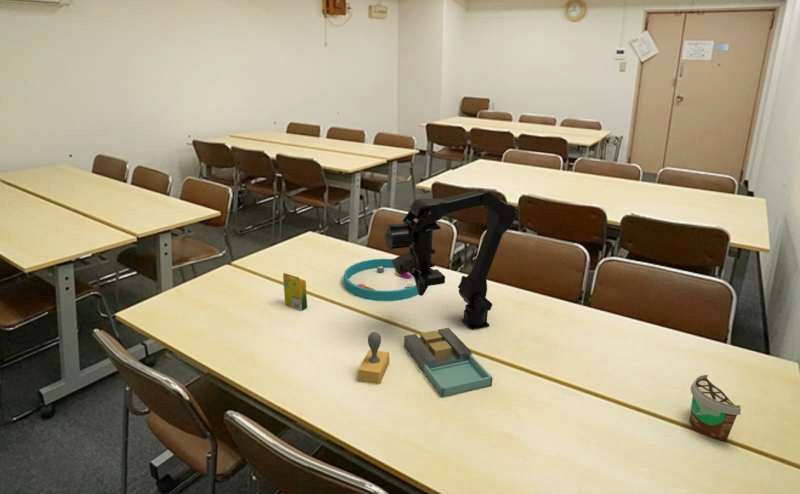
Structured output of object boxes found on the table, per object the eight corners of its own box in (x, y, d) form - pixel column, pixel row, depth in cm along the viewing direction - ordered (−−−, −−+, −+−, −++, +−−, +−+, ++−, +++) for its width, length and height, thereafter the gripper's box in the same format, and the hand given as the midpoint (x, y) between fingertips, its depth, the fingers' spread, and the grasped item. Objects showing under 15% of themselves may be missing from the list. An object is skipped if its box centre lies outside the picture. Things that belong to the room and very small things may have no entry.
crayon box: (307, 307, 172) (306, 275, 168) (301, 311, 169) (299, 278, 165) (291, 302, 175) (288, 269, 171) (284, 305, 173) (282, 272, 169)
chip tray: (470, 363, 143) (471, 355, 142) (491, 385, 134) (492, 377, 133) (423, 373, 138) (424, 365, 137) (442, 397, 129) (442, 389, 128)
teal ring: (443, 284, 192) (444, 269, 190) (385, 311, 172) (385, 294, 169) (385, 261, 211) (385, 248, 209) (326, 283, 191) (326, 268, 189)
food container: (672, 409, 126) (681, 374, 122) (696, 408, 126) (706, 373, 123) (704, 446, 114) (714, 408, 111) (731, 444, 115) (742, 407, 111)
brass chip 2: (445, 346, 147) (445, 340, 146) (451, 354, 143) (451, 347, 143) (428, 350, 145) (428, 343, 144) (434, 357, 142) (435, 351, 141)
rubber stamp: (380, 385, 133) (380, 343, 129) (358, 381, 134) (357, 340, 130) (389, 363, 142) (390, 324, 138) (368, 360, 144) (368, 321, 139)
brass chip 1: (435, 336, 152) (436, 330, 151) (441, 343, 149) (442, 337, 148) (419, 339, 150) (420, 333, 150) (425, 346, 147) (425, 340, 146)
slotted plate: (447, 338, 155) (448, 327, 154) (470, 363, 143) (471, 351, 142) (403, 346, 150) (404, 335, 149) (423, 373, 138) (424, 361, 137)
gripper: (384, 237, 152) (383, 286, 158) (408, 260, 136) (407, 314, 142) (419, 233, 156) (417, 281, 162) (447, 255, 140) (444, 307, 146)
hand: (420, 295), depth 153 cm, fingers closed
